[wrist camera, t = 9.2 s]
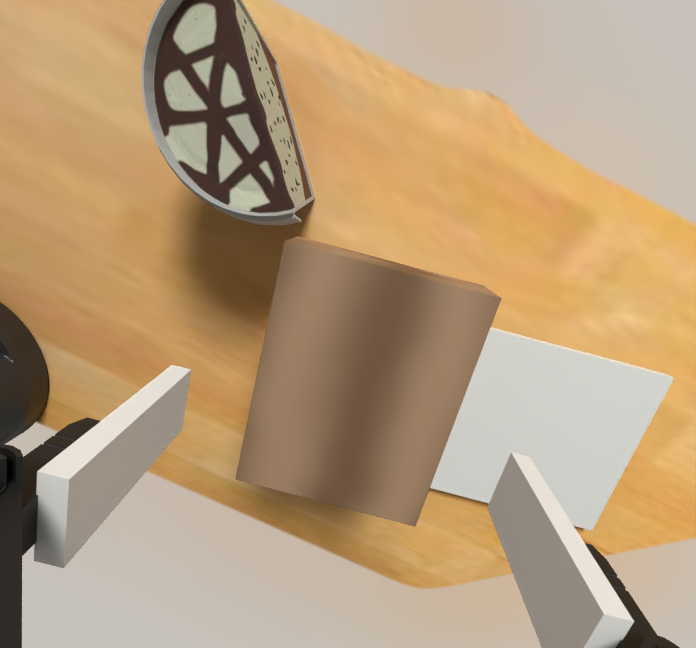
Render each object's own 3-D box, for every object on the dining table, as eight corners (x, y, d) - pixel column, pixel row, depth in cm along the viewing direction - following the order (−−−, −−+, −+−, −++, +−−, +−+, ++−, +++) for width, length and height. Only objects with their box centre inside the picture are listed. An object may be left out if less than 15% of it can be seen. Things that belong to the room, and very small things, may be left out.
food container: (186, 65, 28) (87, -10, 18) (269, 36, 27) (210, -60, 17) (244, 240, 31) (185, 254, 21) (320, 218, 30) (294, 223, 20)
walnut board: (252, 447, 24) (235, 479, 21) (297, 236, 21) (284, 240, 18) (410, 489, 24) (415, 526, 22) (484, 286, 21) (501, 298, 18)
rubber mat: (414, 477, 36) (415, 483, 35) (470, 321, 31) (472, 324, 31) (587, 523, 36) (591, 530, 35) (666, 374, 32) (673, 378, 31)
